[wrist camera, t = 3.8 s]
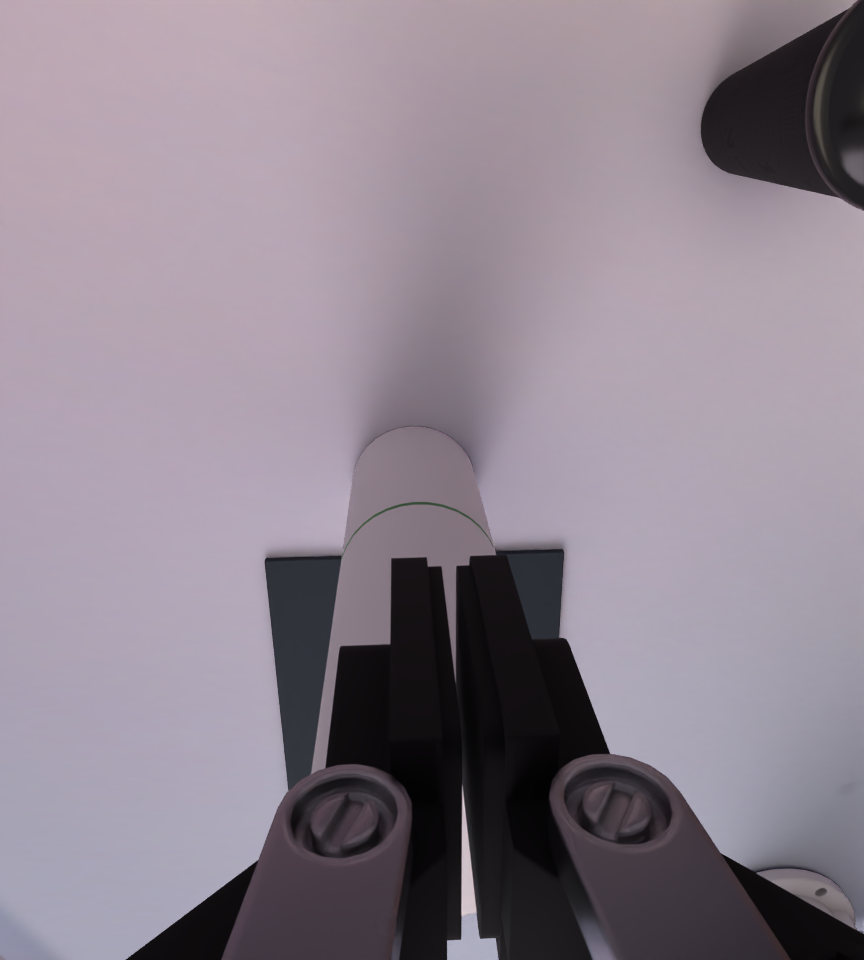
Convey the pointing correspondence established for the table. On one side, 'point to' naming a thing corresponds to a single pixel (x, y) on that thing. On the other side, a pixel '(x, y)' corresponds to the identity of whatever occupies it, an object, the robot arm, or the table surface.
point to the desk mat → (308, 622)
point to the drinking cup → (797, 113)
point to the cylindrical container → (403, 553)
